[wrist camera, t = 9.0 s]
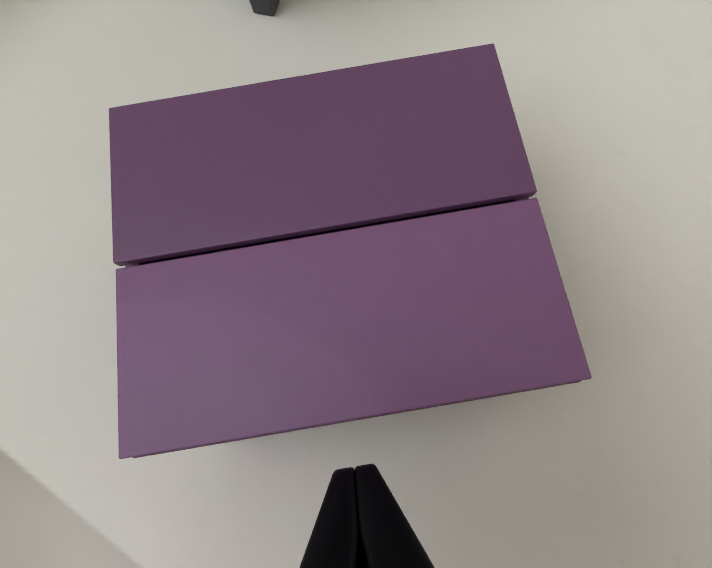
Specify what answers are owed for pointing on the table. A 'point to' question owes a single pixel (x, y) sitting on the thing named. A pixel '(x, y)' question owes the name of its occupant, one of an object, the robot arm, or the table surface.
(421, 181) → the box
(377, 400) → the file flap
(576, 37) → the table surface
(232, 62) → the table surface
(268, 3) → the planter
